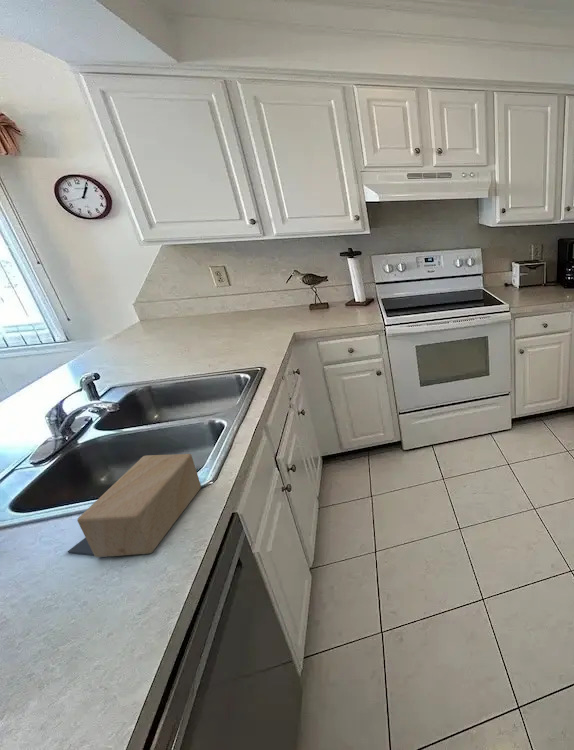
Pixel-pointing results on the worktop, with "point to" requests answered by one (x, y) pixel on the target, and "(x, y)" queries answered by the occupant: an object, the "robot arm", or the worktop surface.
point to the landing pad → (82, 548)
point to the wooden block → (140, 506)
